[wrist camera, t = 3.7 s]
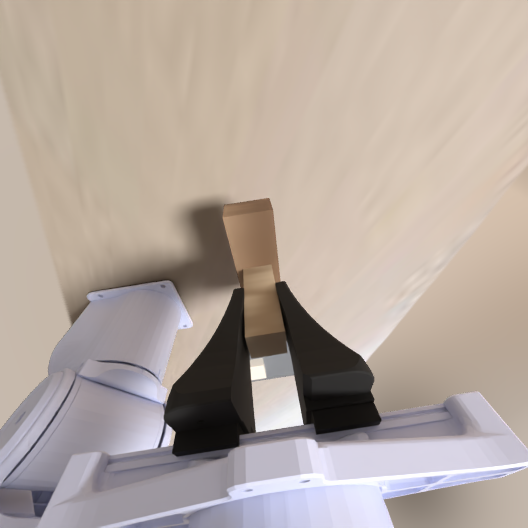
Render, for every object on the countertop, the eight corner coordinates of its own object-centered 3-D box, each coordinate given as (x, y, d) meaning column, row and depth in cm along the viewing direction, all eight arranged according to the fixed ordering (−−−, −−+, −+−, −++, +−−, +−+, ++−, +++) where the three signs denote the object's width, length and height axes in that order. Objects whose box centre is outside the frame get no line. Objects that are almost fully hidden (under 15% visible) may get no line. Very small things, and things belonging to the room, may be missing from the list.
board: (223, 380, 38) (221, 402, 35) (207, 348, 32) (203, 371, 29) (311, 366, 38) (317, 387, 35) (312, 332, 32) (319, 354, 29)
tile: (242, 374, 35) (242, 381, 34) (237, 361, 33) (237, 369, 32) (265, 370, 35) (266, 377, 34) (262, 357, 33) (263, 365, 32)
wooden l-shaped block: (249, 306, 20) (253, 391, 14) (224, 204, 14) (213, 278, 8) (280, 301, 20) (298, 384, 14) (269, 198, 14) (291, 265, 8)
